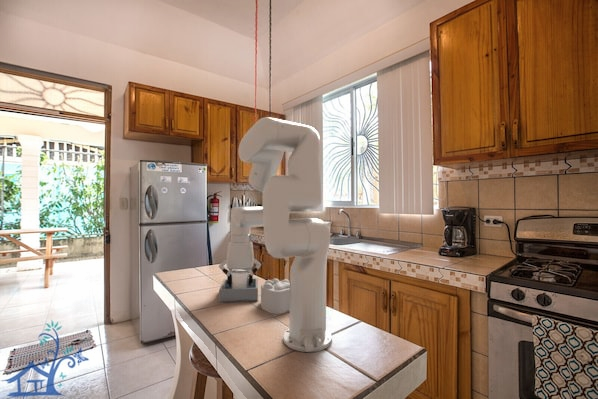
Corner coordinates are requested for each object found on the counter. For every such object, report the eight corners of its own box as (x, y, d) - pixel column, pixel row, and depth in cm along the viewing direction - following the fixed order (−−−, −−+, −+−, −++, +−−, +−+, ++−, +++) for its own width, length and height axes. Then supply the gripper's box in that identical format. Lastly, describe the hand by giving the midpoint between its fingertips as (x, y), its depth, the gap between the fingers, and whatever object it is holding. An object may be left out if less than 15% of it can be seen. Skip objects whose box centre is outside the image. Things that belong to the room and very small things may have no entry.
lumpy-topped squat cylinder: (275, 315, 85) (275, 288, 86) (253, 304, 95) (253, 279, 95) (300, 307, 92) (300, 282, 92) (277, 297, 102) (277, 274, 102)
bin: (257, 301, 98) (257, 288, 98) (219, 302, 96) (219, 289, 96) (257, 289, 111) (257, 278, 112) (223, 290, 109) (223, 279, 109)
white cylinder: (250, 287, 107) (251, 269, 107) (245, 292, 100) (246, 273, 100) (233, 286, 107) (234, 268, 107) (227, 291, 100) (228, 272, 101)
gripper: (262, 237, 109) (262, 281, 109) (218, 238, 106) (218, 283, 106) (263, 239, 102) (263, 287, 101) (215, 240, 99) (215, 289, 99)
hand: (240, 285), depth 104 cm, fingers open, 6 cm apart
